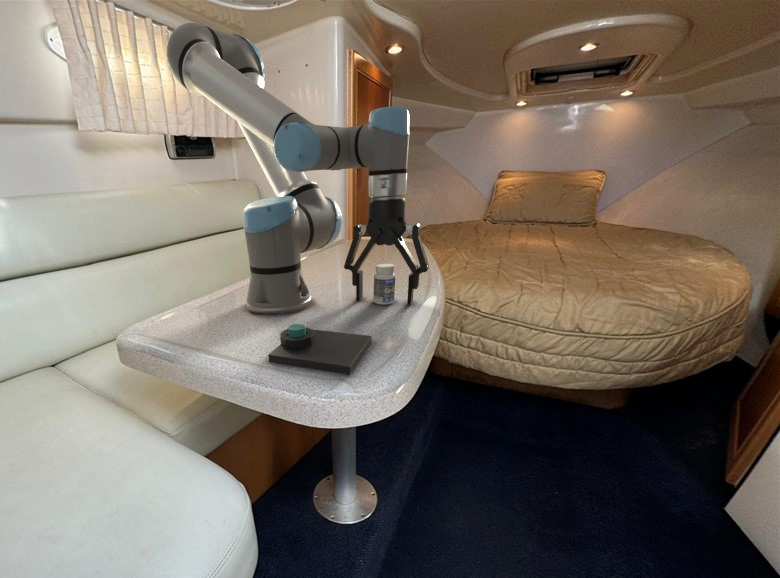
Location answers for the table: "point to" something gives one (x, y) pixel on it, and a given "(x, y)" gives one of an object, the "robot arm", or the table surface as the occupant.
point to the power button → (296, 330)
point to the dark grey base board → (321, 350)
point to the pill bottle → (384, 284)
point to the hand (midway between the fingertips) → (384, 300)
